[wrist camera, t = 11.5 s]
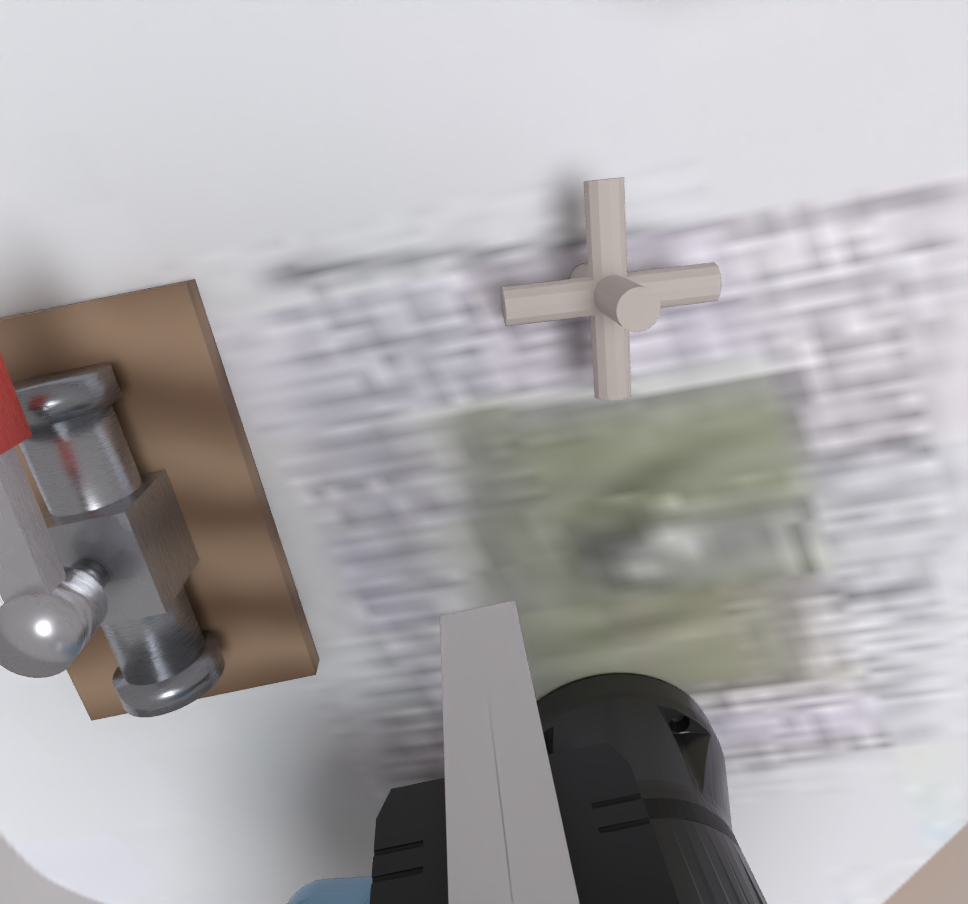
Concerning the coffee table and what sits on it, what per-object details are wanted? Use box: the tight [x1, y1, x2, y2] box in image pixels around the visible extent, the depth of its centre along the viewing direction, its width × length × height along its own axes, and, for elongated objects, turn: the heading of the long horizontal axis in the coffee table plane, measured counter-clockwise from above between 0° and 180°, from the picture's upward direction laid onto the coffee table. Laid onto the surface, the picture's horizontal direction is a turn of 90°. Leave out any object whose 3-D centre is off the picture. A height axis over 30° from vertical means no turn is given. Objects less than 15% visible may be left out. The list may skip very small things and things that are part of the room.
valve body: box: [12, 362, 225, 717], centre depth 36 cm, size 18×6×8 cm, turn 11°
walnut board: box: [0, 279, 319, 721], centre depth 40 cm, size 24×14×2 cm, turn 11°
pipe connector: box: [501, 177, 721, 401], centre depth 33 cm, size 10×10×10 cm
